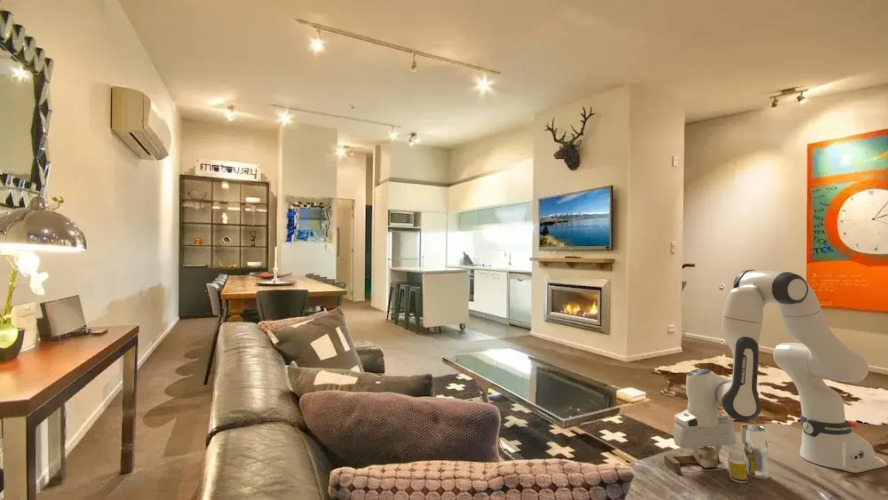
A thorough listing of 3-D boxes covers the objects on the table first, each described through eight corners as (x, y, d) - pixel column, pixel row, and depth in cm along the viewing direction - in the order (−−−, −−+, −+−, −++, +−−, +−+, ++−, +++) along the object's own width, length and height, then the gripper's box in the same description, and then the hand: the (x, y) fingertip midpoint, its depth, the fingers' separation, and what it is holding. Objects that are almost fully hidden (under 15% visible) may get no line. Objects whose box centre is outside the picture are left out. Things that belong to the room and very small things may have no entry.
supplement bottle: (751, 483, 126) (748, 456, 126) (734, 483, 127) (731, 455, 127) (742, 476, 130) (740, 449, 131) (726, 475, 131) (724, 449, 132)
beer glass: (742, 475, 131) (738, 428, 132) (745, 467, 136) (741, 422, 137) (770, 482, 126) (765, 433, 127) (772, 473, 131) (767, 426, 132)
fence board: (715, 458, 143) (714, 449, 143) (732, 468, 135) (731, 459, 135) (662, 462, 142) (661, 453, 143) (675, 473, 134) (675, 463, 135)
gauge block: (708, 460, 140) (707, 441, 141) (718, 466, 136) (716, 446, 136) (696, 461, 140) (694, 441, 141) (705, 467, 136) (703, 447, 136)
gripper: (725, 412, 143) (728, 452, 142) (669, 415, 142) (672, 456, 141) (739, 418, 136) (742, 460, 135) (680, 422, 135) (683, 464, 135)
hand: (706, 458), depth 138 cm, fingers closed on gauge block, 4 cm apart
